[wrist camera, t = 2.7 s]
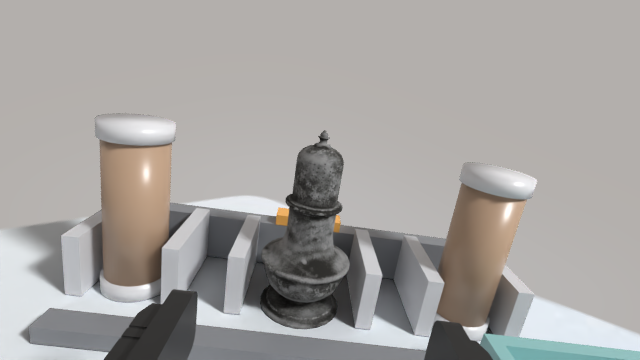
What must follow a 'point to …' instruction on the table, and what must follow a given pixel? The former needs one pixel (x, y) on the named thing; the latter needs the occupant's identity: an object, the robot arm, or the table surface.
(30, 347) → the table surface
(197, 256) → the fuse rail
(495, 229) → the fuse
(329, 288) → the salt shaker
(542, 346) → the tray
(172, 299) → the robot arm
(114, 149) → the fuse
